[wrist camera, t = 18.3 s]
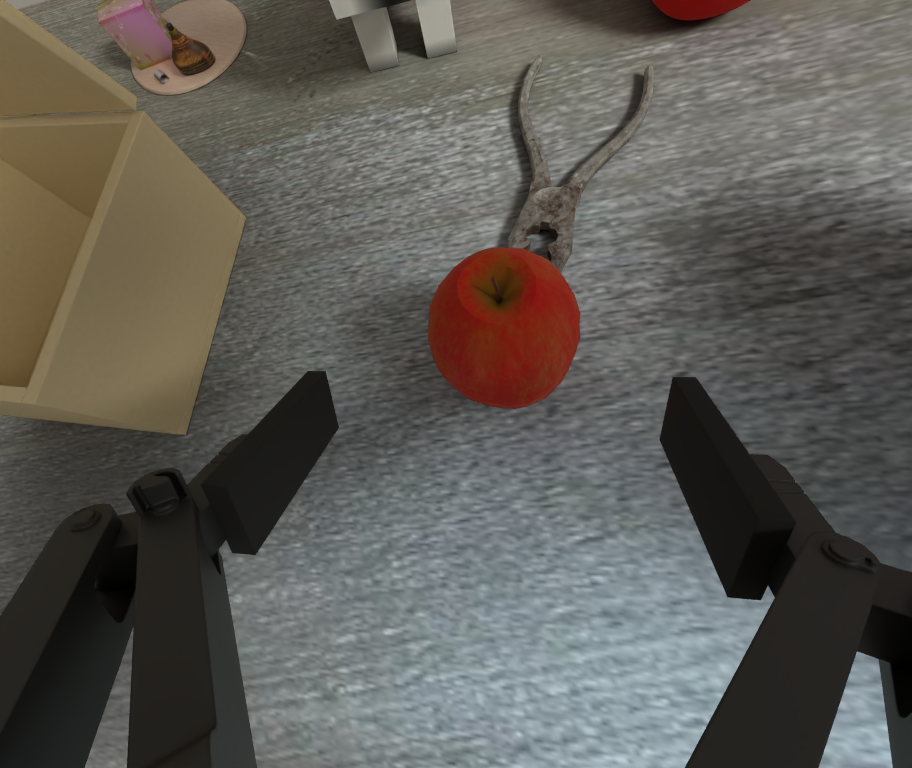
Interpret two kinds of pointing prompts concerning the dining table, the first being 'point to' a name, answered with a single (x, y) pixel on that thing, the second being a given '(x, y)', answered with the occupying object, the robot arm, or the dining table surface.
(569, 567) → the dining table surface
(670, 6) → the tomato
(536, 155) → the pliers
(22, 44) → the lid
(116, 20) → the pink plate
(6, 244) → the chest
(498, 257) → the apple
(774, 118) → the dining table surface
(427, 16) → the toy llama
